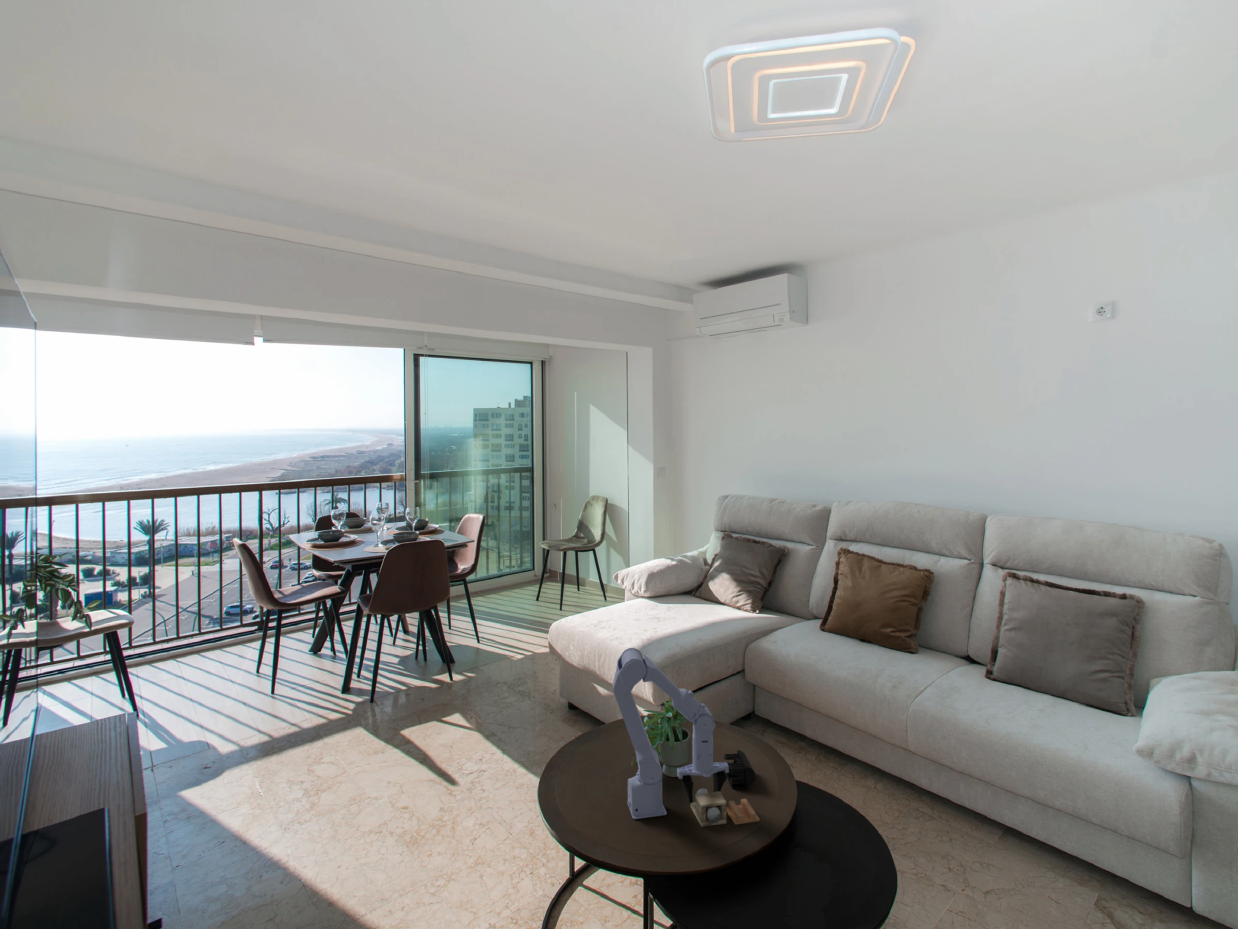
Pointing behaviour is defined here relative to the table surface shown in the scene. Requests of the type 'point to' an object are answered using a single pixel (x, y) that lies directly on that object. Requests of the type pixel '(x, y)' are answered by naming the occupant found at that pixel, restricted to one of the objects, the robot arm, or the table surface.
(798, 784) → the table surface
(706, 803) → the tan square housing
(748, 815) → the cradle
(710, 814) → the axle
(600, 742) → the table surface
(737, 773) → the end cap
